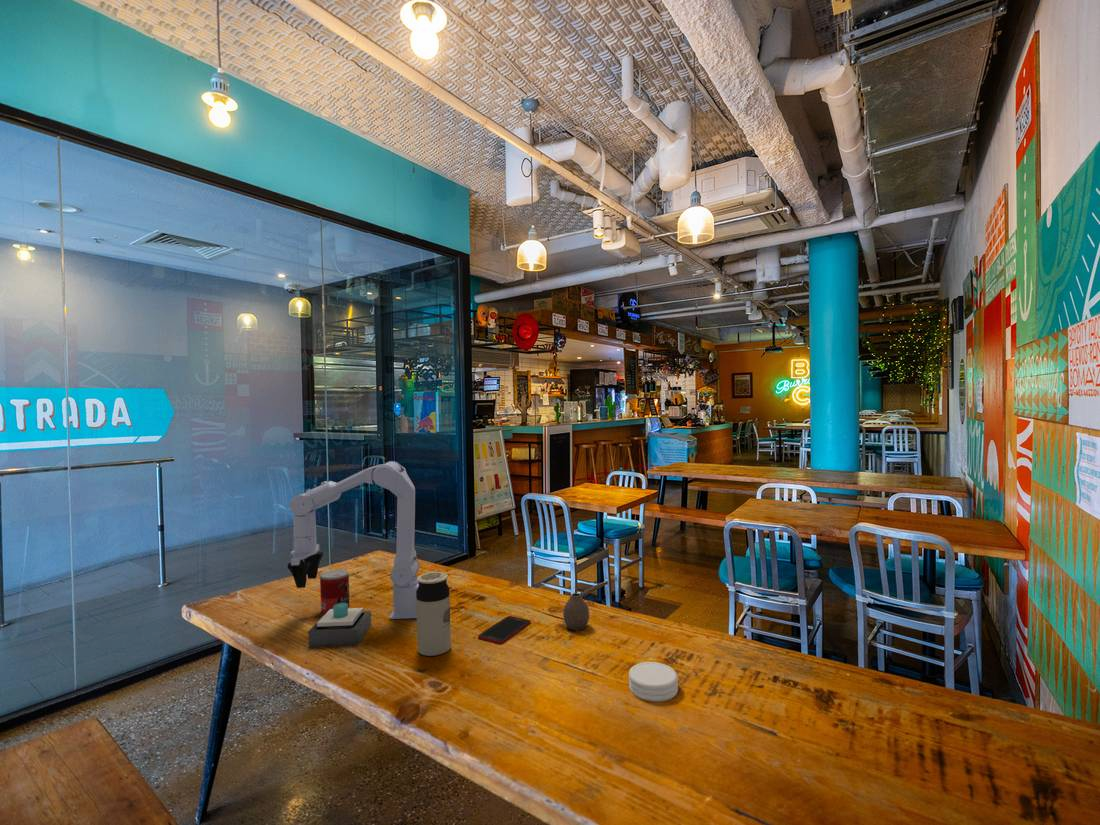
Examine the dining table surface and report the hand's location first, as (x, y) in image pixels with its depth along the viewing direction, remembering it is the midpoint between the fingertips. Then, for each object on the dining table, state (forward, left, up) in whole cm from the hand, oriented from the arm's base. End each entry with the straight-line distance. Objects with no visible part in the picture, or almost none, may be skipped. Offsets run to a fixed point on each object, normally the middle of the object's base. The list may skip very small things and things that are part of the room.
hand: (306, 582), depth 149 cm
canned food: (-6, -5, -10) cm, 13 cm away
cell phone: (-57, +14, -11) cm, 60 cm away
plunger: (-14, +13, -6) cm, 20 cm away
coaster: (-89, +45, -11) cm, 100 cm away
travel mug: (-40, +23, -10) cm, 47 cm away
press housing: (-14, +13, -10) cm, 22 cm away
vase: (-76, +14, -10) cm, 78 cm away
